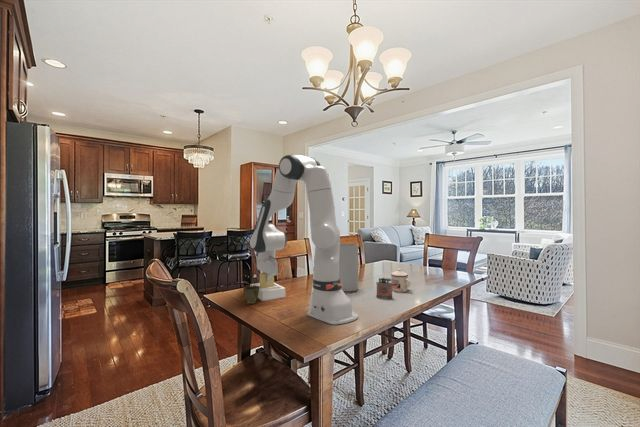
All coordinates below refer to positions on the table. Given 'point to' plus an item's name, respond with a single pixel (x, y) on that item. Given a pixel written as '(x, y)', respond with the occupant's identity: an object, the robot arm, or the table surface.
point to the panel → (266, 281)
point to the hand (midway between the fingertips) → (266, 281)
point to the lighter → (384, 288)
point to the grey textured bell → (251, 293)
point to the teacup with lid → (400, 281)
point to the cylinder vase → (348, 267)
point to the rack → (270, 292)
